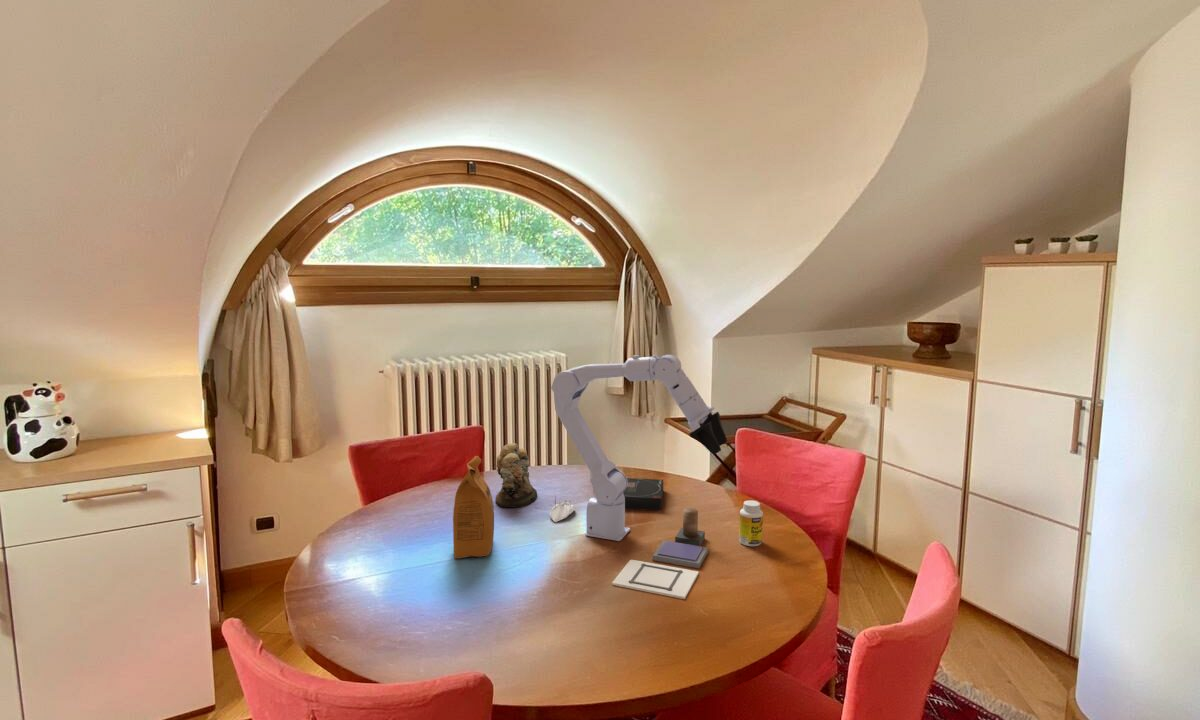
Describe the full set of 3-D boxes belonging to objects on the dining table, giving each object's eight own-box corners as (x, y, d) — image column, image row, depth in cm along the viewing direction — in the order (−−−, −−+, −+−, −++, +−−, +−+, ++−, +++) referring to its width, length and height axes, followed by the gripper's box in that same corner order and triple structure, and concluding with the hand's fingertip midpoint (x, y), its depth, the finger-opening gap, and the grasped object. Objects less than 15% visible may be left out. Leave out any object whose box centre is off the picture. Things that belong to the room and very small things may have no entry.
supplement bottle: (750, 549, 154) (752, 508, 152) (734, 541, 158) (735, 501, 157) (766, 543, 157) (768, 504, 155) (749, 536, 161) (751, 497, 160)
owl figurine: (530, 511, 179) (529, 452, 176) (489, 510, 180) (487, 451, 177) (541, 488, 197) (539, 435, 194) (503, 488, 197) (501, 434, 195)
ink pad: (652, 560, 148) (652, 554, 148) (663, 544, 156) (663, 539, 156) (699, 568, 144) (699, 562, 144) (707, 552, 152) (708, 546, 152)
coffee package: (499, 538, 160) (497, 453, 157) (491, 560, 148) (489, 469, 145) (460, 538, 160) (457, 453, 157) (448, 560, 148) (445, 469, 145)
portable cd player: (607, 489, 197) (607, 477, 197) (663, 492, 195) (663, 479, 194) (600, 509, 181) (600, 495, 181) (660, 512, 179) (661, 498, 178)
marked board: (611, 584, 136) (612, 581, 136) (630, 561, 147) (630, 558, 147) (684, 599, 130) (684, 596, 130) (698, 573, 141) (698, 570, 141)
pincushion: (565, 525, 169) (565, 504, 168) (544, 522, 171) (544, 502, 170) (579, 509, 181) (579, 489, 180) (559, 506, 182) (559, 487, 181)
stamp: (675, 544, 157) (675, 513, 156) (681, 535, 162) (681, 505, 161) (699, 548, 154) (699, 517, 153) (704, 539, 160) (705, 508, 159)
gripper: (694, 397, 143) (728, 448, 142) (708, 385, 156) (740, 431, 155) (669, 413, 146) (703, 463, 145) (685, 399, 159) (716, 445, 158)
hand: (720, 447), depth 150 cm, fingers open, 7 cm apart
